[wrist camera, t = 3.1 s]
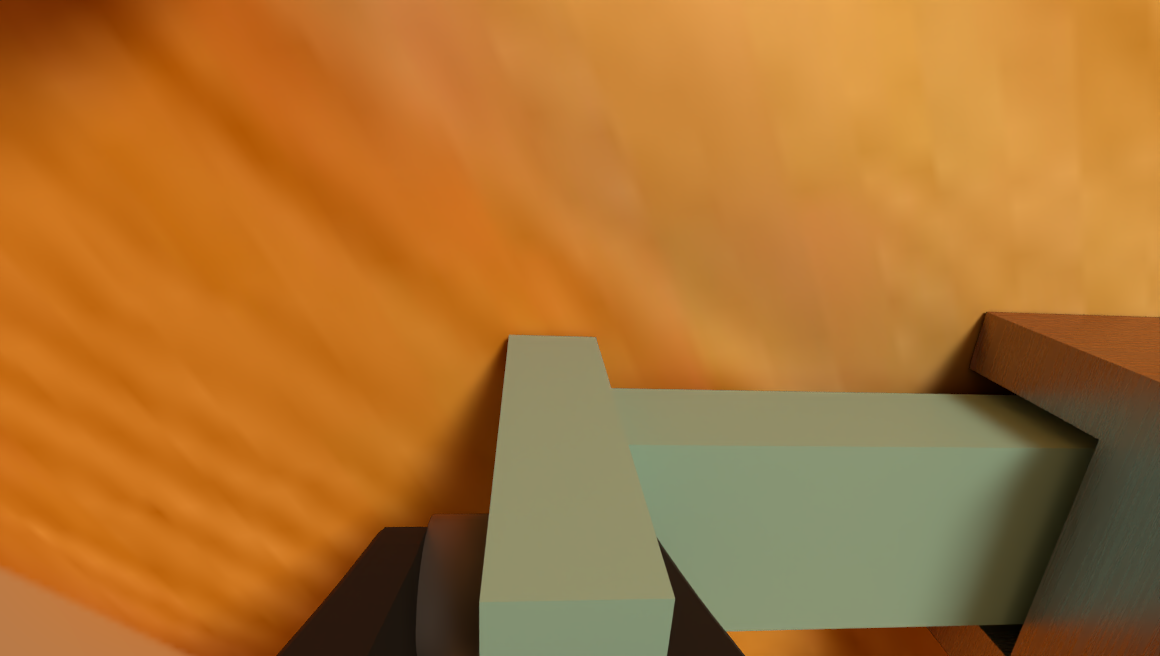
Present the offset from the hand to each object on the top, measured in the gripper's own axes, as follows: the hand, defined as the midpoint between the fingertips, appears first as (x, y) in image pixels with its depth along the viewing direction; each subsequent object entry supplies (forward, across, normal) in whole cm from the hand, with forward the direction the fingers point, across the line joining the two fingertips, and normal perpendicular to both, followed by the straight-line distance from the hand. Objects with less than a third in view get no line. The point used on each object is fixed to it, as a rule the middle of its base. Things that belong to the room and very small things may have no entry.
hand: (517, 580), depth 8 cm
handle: (+3, -6, 0) cm, 6 cm away
